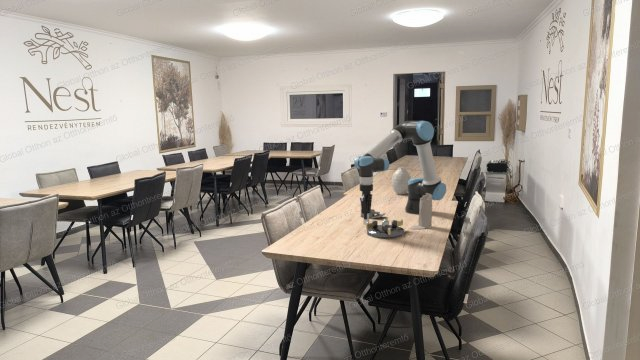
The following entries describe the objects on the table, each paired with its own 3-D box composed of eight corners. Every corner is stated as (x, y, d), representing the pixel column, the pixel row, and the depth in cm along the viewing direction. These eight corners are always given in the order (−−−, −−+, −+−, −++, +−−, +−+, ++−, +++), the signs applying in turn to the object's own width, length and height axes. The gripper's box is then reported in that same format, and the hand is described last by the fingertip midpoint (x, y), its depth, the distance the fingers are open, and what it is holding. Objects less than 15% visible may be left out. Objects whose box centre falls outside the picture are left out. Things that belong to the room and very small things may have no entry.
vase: (388, 192, 354) (389, 166, 351) (407, 191, 356) (408, 165, 352) (394, 196, 338) (394, 168, 335) (413, 195, 340) (414, 168, 337)
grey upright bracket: (407, 227, 249) (407, 194, 246) (426, 224, 254) (427, 192, 251) (414, 230, 243) (414, 196, 239) (434, 227, 248) (434, 194, 245)
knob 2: (384, 231, 233) (384, 224, 233) (389, 231, 233) (389, 224, 233) (386, 235, 226) (386, 228, 225) (392, 235, 226) (392, 227, 225)
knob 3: (393, 228, 239) (394, 221, 238) (390, 227, 242) (390, 219, 241) (404, 226, 243) (404, 219, 242) (400, 225, 246) (400, 217, 245)
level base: (400, 227, 249) (400, 214, 248) (407, 238, 228) (408, 223, 227) (364, 228, 249) (364, 215, 247) (369, 239, 228) (369, 224, 227)
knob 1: (375, 226, 243) (375, 219, 243) (378, 228, 241) (378, 220, 240) (364, 229, 239) (364, 221, 239) (368, 230, 237) (368, 222, 236)
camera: (364, 197, 279) (385, 199, 272) (364, 214, 281) (385, 217, 274) (359, 200, 271) (381, 202, 265) (359, 217, 274) (381, 220, 267)
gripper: (364, 181, 244) (364, 220, 248) (355, 185, 233) (355, 226, 237) (376, 182, 240) (376, 222, 244) (367, 186, 229) (367, 228, 233)
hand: (366, 224), depth 240 cm, fingers closed
